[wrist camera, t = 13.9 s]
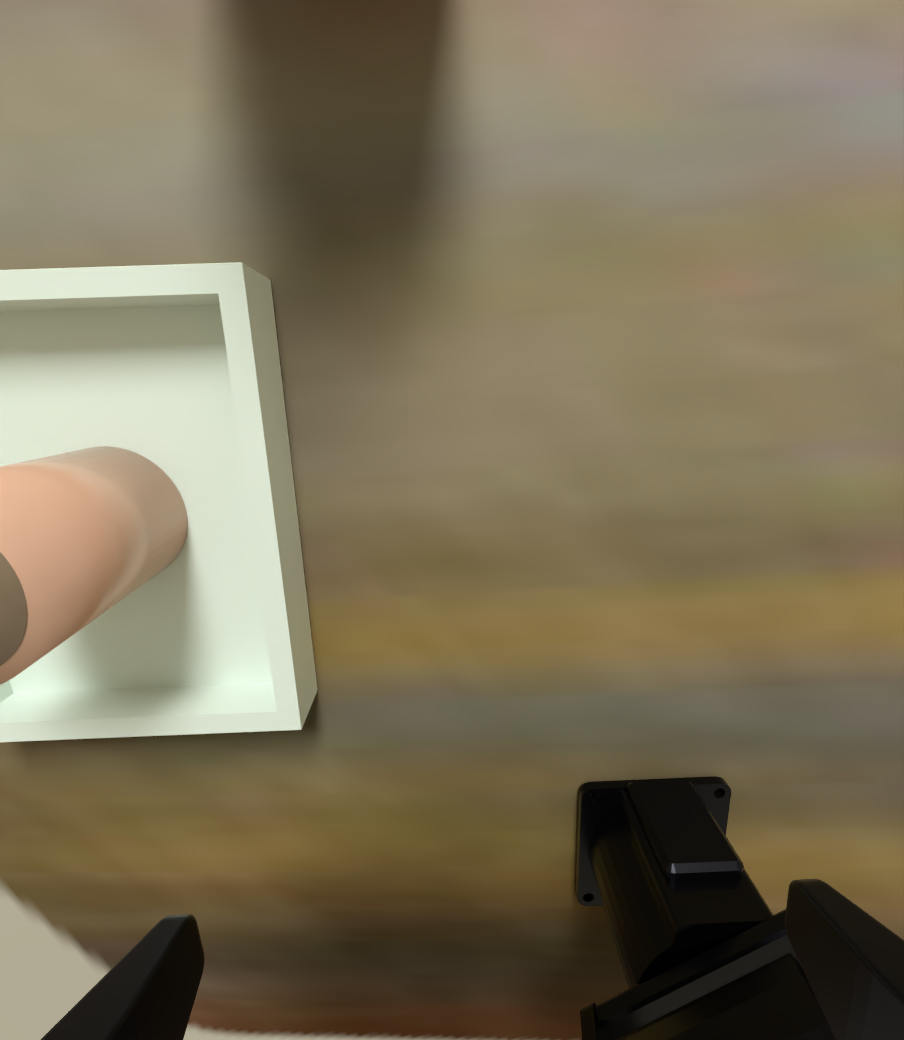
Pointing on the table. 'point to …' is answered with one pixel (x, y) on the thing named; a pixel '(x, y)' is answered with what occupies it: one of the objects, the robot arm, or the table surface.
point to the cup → (78, 543)
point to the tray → (198, 477)
